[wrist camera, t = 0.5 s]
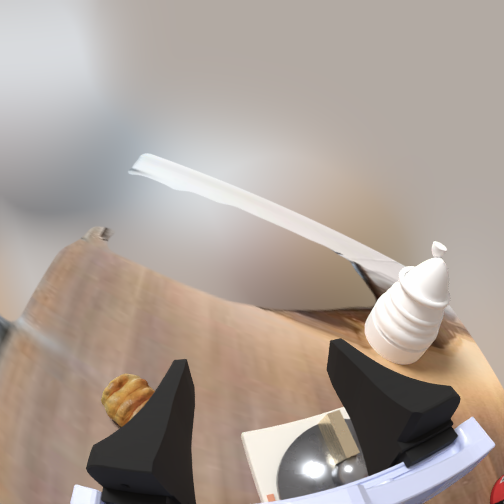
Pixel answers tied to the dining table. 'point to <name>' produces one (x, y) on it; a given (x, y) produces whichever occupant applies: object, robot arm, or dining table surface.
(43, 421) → the dining table surface
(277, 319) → the dining table surface
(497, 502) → the canned food
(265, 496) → the base
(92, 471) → the robot arm
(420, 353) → the honey pot
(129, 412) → the pastry
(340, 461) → the handwheel
